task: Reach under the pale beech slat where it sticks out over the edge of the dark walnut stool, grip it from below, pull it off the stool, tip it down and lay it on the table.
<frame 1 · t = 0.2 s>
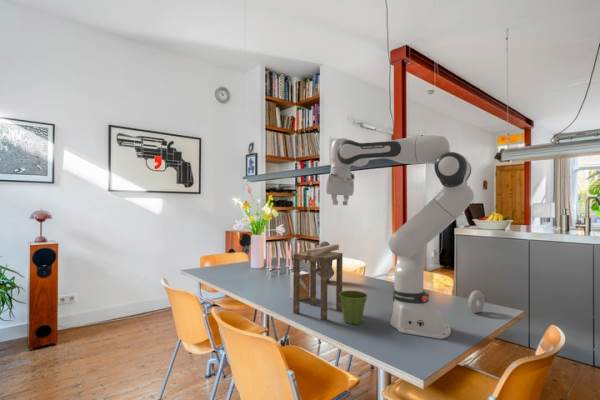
hand: (340, 205, 146), 48 cm above the table, tool pointing down, fingers open, 8 cm apart
donut: (476, 313, 144), on the table
slat: (323, 252, 149), point 26 cm above the table, touching stool
stool: (318, 311, 144), on the table
plant pot: (353, 322, 133), on the table
clay figurine: (325, 282, 198), on the table
small box: (299, 298, 164), on the table
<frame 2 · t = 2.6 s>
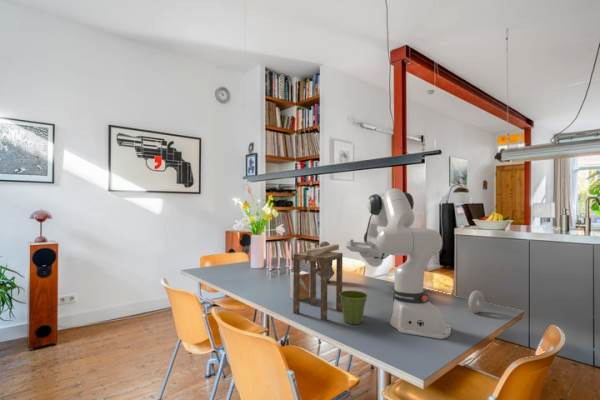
hand: (359, 241, 172), 28 cm above the table, tool pointing upward, fingers open, 8 cm apart
nothing on the table moved.
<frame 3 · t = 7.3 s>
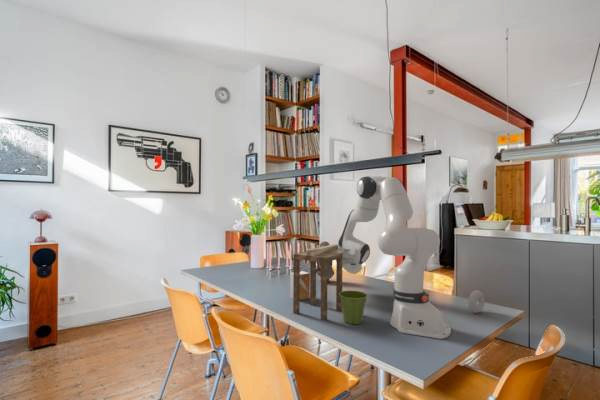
hand: (333, 246, 156), 28 cm above the table, tool pointing upward, fingers closed on slat, 3 cm apart
slat: (323, 252, 149), point 26 cm above the table, touching gripper, stool
everything else where it was.
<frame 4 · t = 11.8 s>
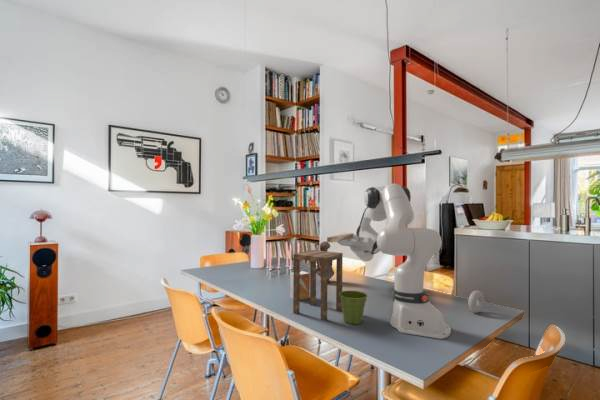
hand: (349, 235, 171), 32 cm above the table, tool pointing upward, fingers closed on slat, 3 cm apart
slat: (341, 239, 163), point 30 cm above the table, touching gripper
everything else where it was.
when the fingers open (12 cm above the table, at t = 16.2 s): slat drops 6 cm, on the table.
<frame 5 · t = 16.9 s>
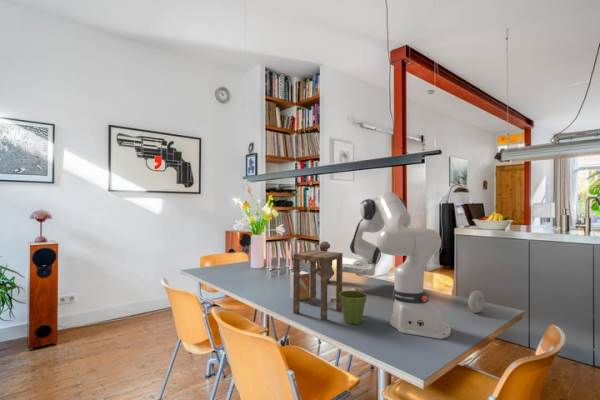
hand: (349, 271, 172), 12 cm above the table, tool horizontal, fingers open, 8 cm apart
slat: (345, 297, 167), on the table
everything else where it was.
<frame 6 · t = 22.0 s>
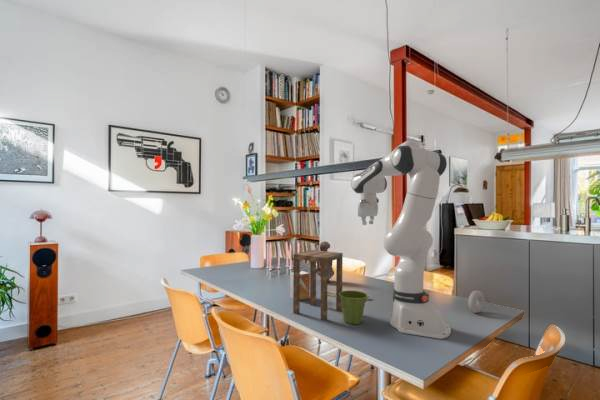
hand: (367, 224, 177), 37 cm above the table, tool pointing down, fingers open, 8 cm apart
at the end: slat on the table; slat moved 34.9 cm from its start; the gripper is holding nothing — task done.
